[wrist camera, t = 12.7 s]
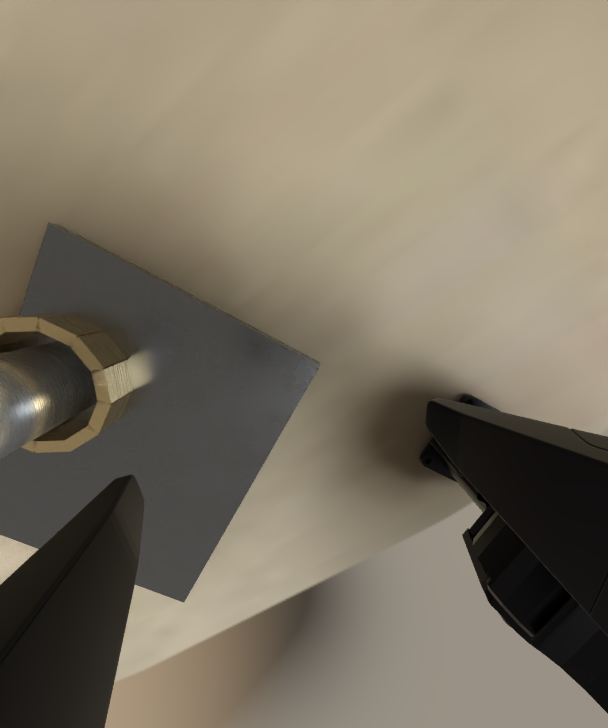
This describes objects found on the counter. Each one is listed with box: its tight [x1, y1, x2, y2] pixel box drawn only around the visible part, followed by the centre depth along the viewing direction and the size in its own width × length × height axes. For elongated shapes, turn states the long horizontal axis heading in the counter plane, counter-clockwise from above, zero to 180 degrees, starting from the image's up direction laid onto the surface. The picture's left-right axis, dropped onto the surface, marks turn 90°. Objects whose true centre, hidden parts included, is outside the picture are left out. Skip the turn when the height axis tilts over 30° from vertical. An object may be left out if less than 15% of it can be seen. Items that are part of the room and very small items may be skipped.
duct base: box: [0, 223, 320, 602], centre depth 21 cm, size 19×24×3 cm
